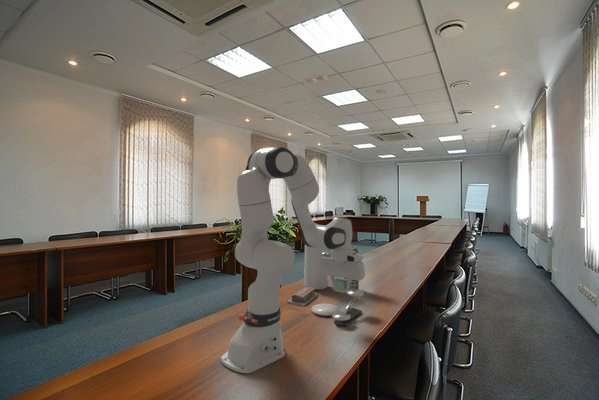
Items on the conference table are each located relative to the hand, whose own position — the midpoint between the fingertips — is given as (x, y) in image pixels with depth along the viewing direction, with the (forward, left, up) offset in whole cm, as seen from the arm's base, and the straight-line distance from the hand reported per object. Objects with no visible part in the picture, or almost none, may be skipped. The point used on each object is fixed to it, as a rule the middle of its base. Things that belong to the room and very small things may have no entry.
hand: (340, 287), depth 124 cm
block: (0, 0, -1) cm, 1 cm away
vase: (+37, +36, -16) cm, 54 cm away
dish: (+7, +12, -16) cm, 21 cm away
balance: (+7, 0, -16) cm, 17 cm away
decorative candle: (+44, +16, -16) cm, 50 cm away
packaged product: (+15, +30, -16) cm, 38 cm away
